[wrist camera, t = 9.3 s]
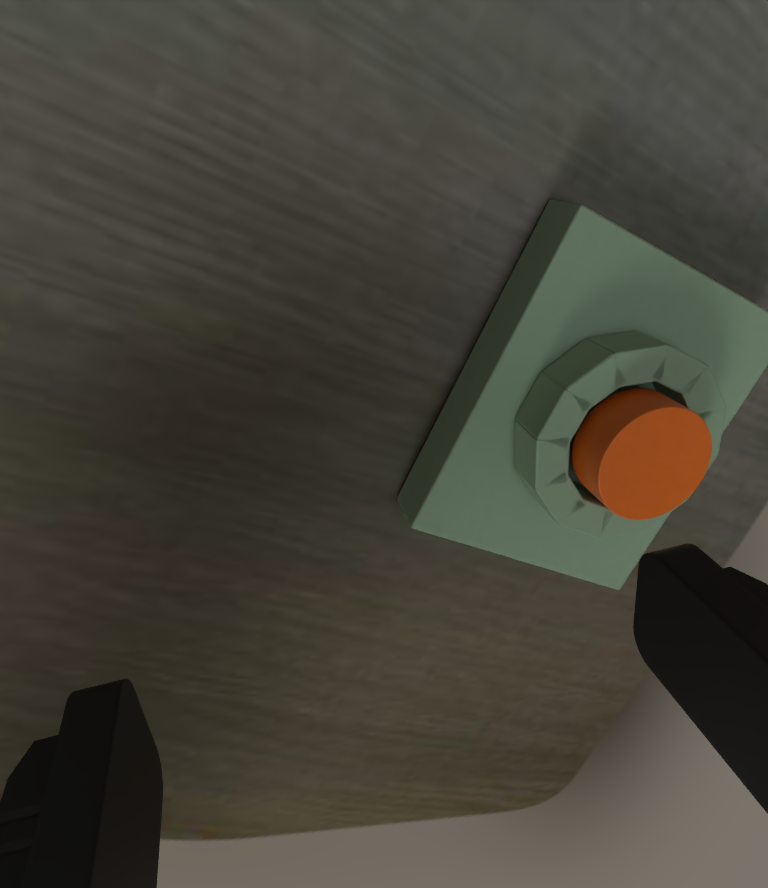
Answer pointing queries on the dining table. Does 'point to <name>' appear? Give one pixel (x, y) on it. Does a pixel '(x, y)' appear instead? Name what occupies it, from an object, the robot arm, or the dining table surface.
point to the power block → (576, 392)
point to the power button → (641, 453)
